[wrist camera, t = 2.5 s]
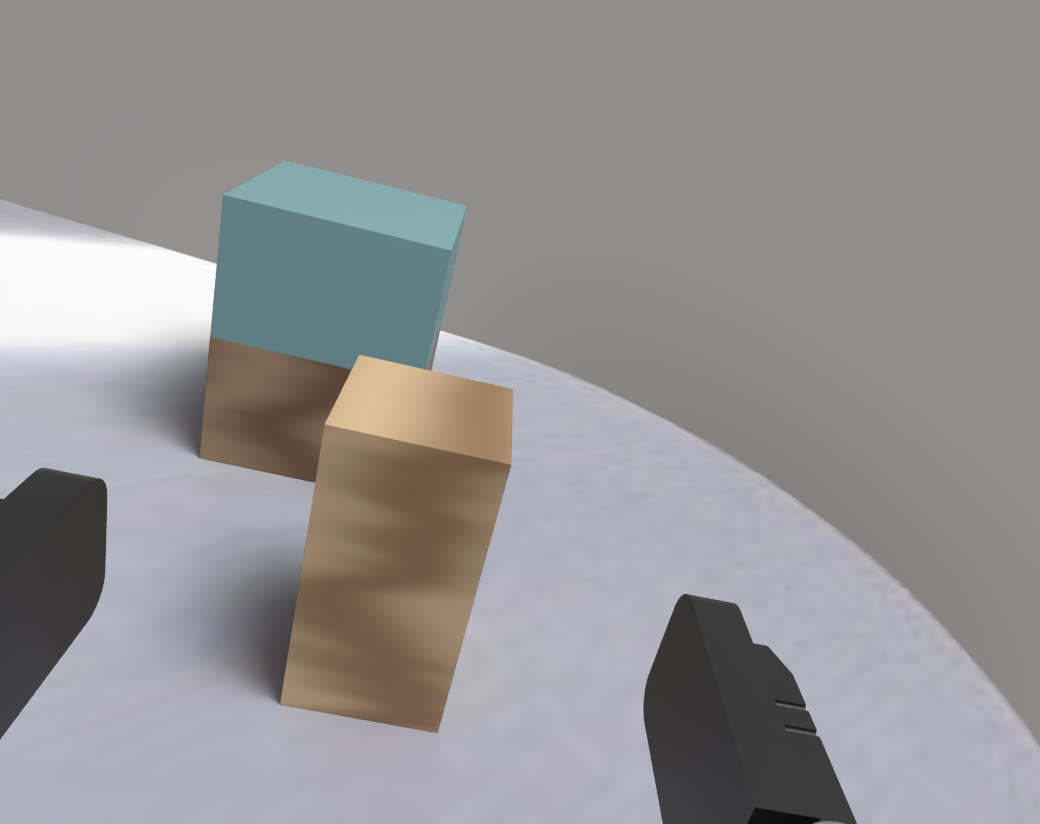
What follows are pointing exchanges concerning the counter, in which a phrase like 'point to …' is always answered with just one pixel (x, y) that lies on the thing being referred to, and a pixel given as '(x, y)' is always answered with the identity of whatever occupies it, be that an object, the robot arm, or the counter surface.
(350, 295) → the teal top block
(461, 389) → the oak block
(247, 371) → the walnut base block
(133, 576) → the counter surface
